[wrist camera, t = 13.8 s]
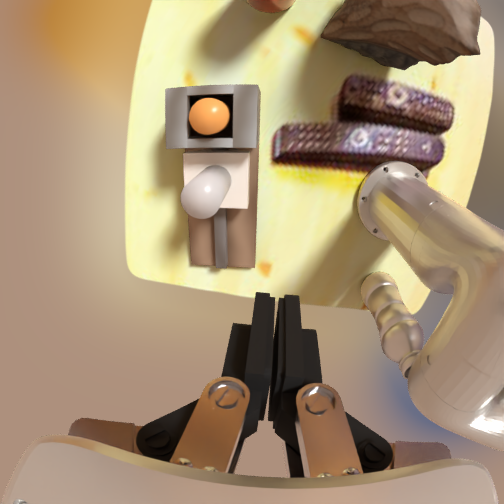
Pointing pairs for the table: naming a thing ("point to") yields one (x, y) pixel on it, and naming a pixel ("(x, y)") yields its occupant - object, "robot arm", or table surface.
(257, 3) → the soda can
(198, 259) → the rail base
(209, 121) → the button
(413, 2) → the brown rock
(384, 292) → the plastic bottle
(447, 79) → the table surface
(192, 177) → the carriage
